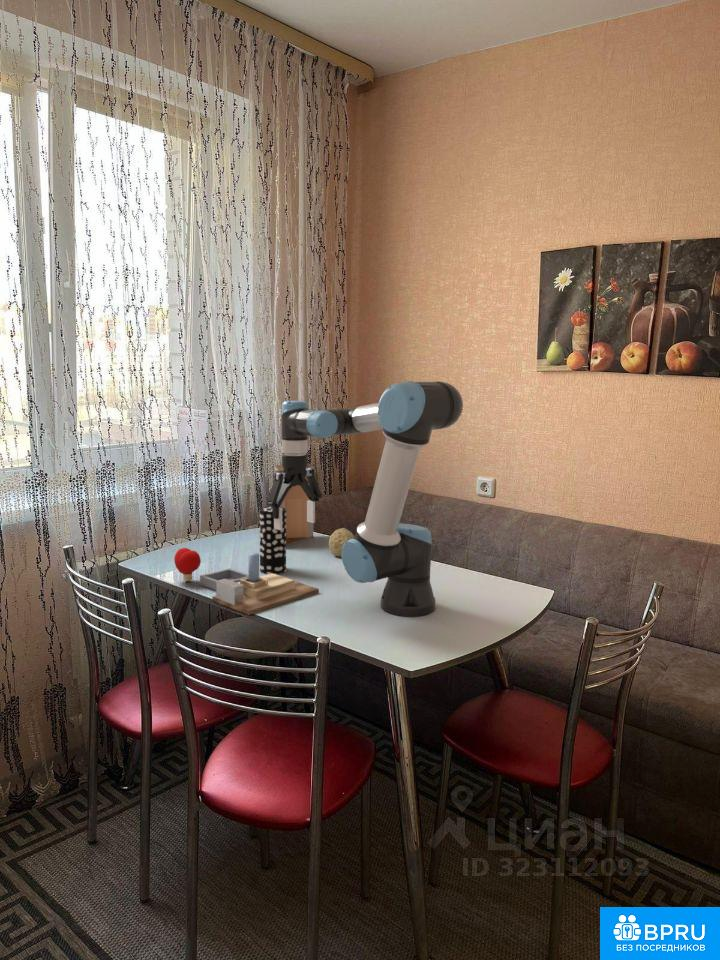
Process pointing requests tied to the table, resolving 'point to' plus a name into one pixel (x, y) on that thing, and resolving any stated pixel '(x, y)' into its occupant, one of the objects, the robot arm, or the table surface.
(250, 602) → the board
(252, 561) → the dowel
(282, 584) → the wooden block with recess
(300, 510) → the cabinet
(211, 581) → the tray
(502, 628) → the table surface
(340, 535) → the coral
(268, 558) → the spotted tube
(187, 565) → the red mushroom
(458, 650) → the table surface
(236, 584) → the block
